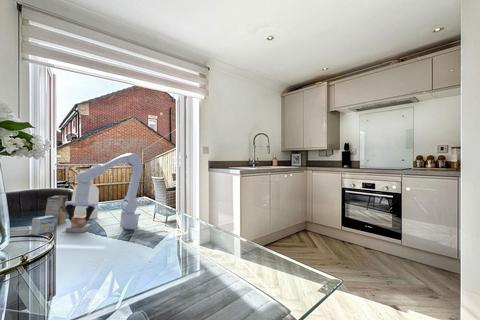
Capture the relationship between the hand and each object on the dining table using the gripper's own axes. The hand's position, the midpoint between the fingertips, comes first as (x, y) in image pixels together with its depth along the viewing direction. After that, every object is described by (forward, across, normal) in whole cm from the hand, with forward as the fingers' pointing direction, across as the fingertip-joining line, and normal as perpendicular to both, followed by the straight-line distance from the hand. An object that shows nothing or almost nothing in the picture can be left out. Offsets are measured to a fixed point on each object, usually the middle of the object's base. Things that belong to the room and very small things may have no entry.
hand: (79, 220), depth 121 cm
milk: (+7, -11, +29) cm, 32 cm away
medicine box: (+7, -13, -6) cm, 16 cm away
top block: (+5, 0, 0) cm, 5 cm away
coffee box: (+7, -16, +9) cm, 20 cm away
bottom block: (+7, 0, 0) cm, 7 cm away
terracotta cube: (+3, 0, 0) cm, 3 cm away
